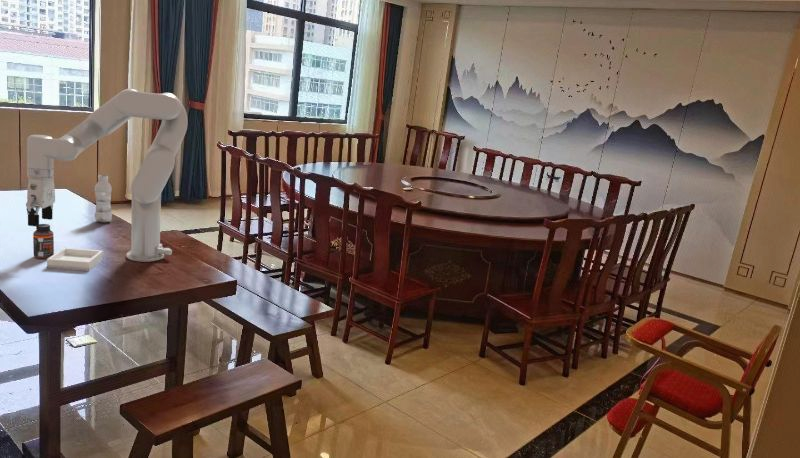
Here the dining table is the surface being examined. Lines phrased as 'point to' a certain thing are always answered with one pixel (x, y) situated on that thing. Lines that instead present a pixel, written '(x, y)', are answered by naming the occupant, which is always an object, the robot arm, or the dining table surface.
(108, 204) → the plastic bottle
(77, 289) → the dining table surface
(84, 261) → the tray
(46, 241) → the supplement bottle
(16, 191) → the dining table surface
